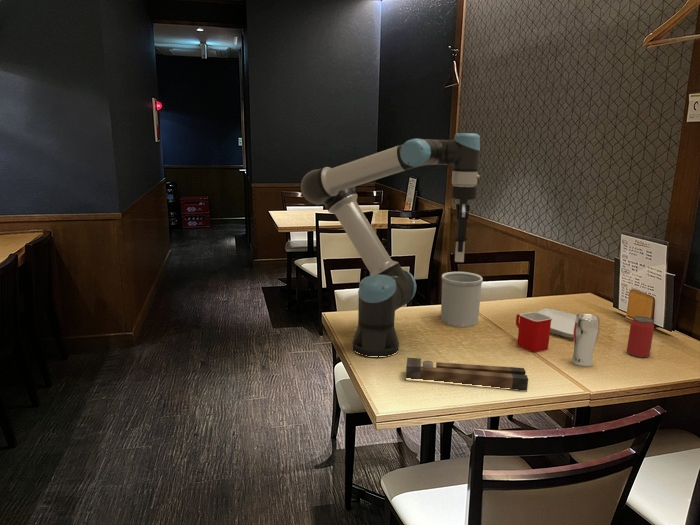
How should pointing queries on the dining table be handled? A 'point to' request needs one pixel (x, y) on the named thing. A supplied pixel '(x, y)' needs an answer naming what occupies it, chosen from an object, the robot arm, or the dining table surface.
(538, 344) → the mug
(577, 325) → the beer glass
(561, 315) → the salad plate
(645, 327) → the beer can
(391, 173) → the robot arm
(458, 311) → the utensil holder
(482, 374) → the base
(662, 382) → the dining table surface
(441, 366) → the bar
